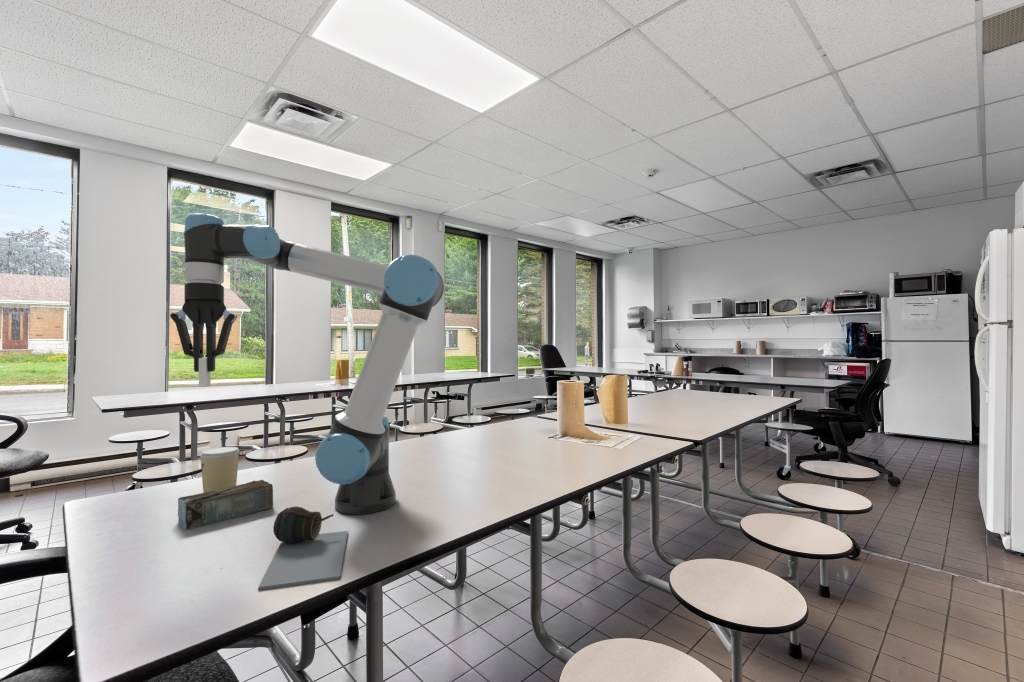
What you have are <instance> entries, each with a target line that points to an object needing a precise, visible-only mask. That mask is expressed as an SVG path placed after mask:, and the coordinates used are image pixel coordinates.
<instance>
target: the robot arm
mask: <svg viewBox="0 0 1024 682" xmlns="http://www.w3.org/2000/svg"><path fill="white" fill-rule="evenodd" d="M183 237H184V278H183V279H184V281H185V282H186V283H185V284H184V302H183V305H182V306H181V310H179V311H176V312H172V313H170V315H169V316H170V318H171V320H172V321H173V323H175V326H176V330H177V333H178V337H179V340H180V344H181V347H182V351H183V354H184V355H185V356H189V357H191V358H193V371H194V373H195V372H196V373H197V372H198V388H201V387H202V388H203V387H204V388H205V387H210V386H211V380H212V379H211V377H212V376H211V373H212V372H215V370H216V358H217V357H218V356H221V355H224V354H225V352H226V349H227V345H228V342H229V338H230V334H231V332H232V331H231V330H232V327H233V324H235V323H234V322H235V321H236V320H237V319H238V315H237V314H235V313H233V312H231V311H228V310H227V306H226V305H225V290H224V289H225V286H223V285H222V284H224V282H225V281H224V279H225V259H248V260H251V261H254V262H256V263H259V264H263V265H266V266H268V267H270V268H271V269H276V270H279V271H287V272H292V273H296V274H300V275H305V276H307V277H311V278H317V279H320V280H324V281H328V282H332V283H336V284H341V285H344V286H349V287H352V288H357V289H361V290H364V291H369V292H373V293H378V294H381V297H380V300H379V302H378V306H379V307H380V310H381V316H380V318H379V322H378V324H377V325H376V330H375V331H374V335H373V337H372V339H371V342H370V345H369V347H368V350H367V353H366V355H365V358H364V360H363V363H362V366H361V369H360V371H359V372H358V376H357V379H356V381H355V384H354V386H353V388H352V392H351V395H350V397H349V399H348V402H347V405H346V407H345V410H343V411H342V412H339V413H337V414H336V415H335V417H334V420H333V422H332V424H331V426H330V429H329V432H328V435H326V437H324V438H323V440H322V441H321V442H320V443H319V445H318V446H317V448H316V451H315V457H314V458H315V465H316V468H317V469H318V471H319V473H320V475H321V476H322V477H323V478H324V479H325V480H326V481H329V482H330V483H332V484H337V485H339V486H338V488H337V492H336V495H335V498H334V510H335V511H336V512H339V513H341V514H346V515H347V514H349V515H364V514H365V515H367V514H373V513H377V512H381V511H384V510H387V509H389V508H391V507H392V506H394V505H395V504H396V501H397V499H396V498H397V496H396V495H397V494H396V490H395V486H394V484H393V481H392V478H391V474H390V471H389V470H390V467H389V465H390V461H389V460H390V456H389V455H390V450H389V449H390V424H389V419H388V417H387V416H385V413H386V411H387V409H388V406H389V403H390V400H391V398H392V395H393V392H394V390H395V387H396V385H397V383H398V379H399V377H400V374H401V372H402V369H403V366H404V364H405V361H406V358H407V356H408V354H409V352H410V348H411V346H412V344H413V340H414V337H415V335H416V333H417V330H418V327H419V326H422V325H423V324H425V323H427V322H428V320H429V319H428V318H429V316H430V314H431V311H432V309H433V307H435V306H437V304H438V303H439V302H440V300H442V297H443V294H444V291H445V285H444V279H443V277H442V275H441V274H440V272H439V271H438V269H437V268H436V266H435V265H434V263H432V262H431V261H430V260H428V259H426V258H424V257H423V256H421V255H416V254H405V255H401V256H398V257H396V258H395V259H394V260H392V261H391V262H390V263H389V264H388V265H386V264H382V263H378V262H373V261H370V260H366V259H363V258H357V257H353V256H350V255H346V254H342V253H337V252H333V251H331V250H330V251H329V250H325V249H320V248H317V247H313V246H309V245H304V244H301V243H297V242H294V241H289V240H284V239H281V238H280V236H279V234H278V232H277V231H276V229H275V228H274V227H273V226H271V225H261V224H258V223H257V224H225V222H224V220H223V219H222V218H221V217H219V216H216V215H212V214H209V213H208V214H207V213H206V214H205V213H204V214H203V213H190V214H188V215H187V216H186V217H185V219H184V231H183ZM186 316H187V317H186ZM187 318H188V319H189V320H190V322H191V323H192V325H191V326H192V339H191V337H190V336H191V335H190V332H189V329H188V325H187V323H186V319H187ZM221 318H222V319H223V320H224V321H223V323H222V326H221V330H220V333H219V337H218V341H217V323H218V322H219V320H220V319H221ZM204 328H205V341H206V343H205V348H206V350H205V351H206V353H205V354H204Z"/></svg>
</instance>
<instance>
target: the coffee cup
mask: <svg viewBox="0 0 1024 682" xmlns="http://www.w3.org/2000/svg"><path fill="white" fill-rule="evenodd" d="M239 454H240V449H239V448H238V447H237V446H220V447H219V446H218V447H213V448H207V449H204V450H201V452H200V454H199V455H200V456H199V458H200V469H201V480H202V481H201V482H202V490H203V491H202V493H205V492H209V491H214V490H219V489H224V488H228V487H232V486H237V484H238V483H237V480H238V472H239V471H238V468H239V456H240V455H239Z"/></svg>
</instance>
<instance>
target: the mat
mask: <svg viewBox="0 0 1024 682" xmlns="http://www.w3.org/2000/svg"><path fill="white" fill-rule="evenodd" d="M348 534H349V530H344V531H343V530H342V531H341V530H340V531H335V532H334V531H333V532H325V533H319V535H318V536H317V538H316V539H315V540H304V541H302V542H298V543H294V544H289V543H285V542H282V541H280V544H279V545H278V548H277V549H276V551H275V554H274V555H273V557H272V559H271V561H270V564H269V565H268V567H267V569H266V571H265V574H263V577H262V578H261V581H260V583H259V585H258V588H257V589H258V591H261V590H262V591H263V590H269V589H276V588H283V587H291V586H297V585H298V586H299V585H307V584H313V583H319V582H326V581H334V580H335V581H336V580H340V579H341V576H342V569H343V563H344V556H345V552H346V546H347V539H348Z"/></svg>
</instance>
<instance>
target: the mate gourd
mask: <svg viewBox="0 0 1024 682" xmlns="http://www.w3.org/2000/svg"><path fill="white" fill-rule="evenodd" d="M333 517H334V513H332V514H330V515H327V516H325V517H322V513H321V512H320V511H310V510H308V509H305V508H303V507H301V506H290V507H286V508H285V509H283V510H281V511H280V512H279V513H277V515H276V517H275V520H274V524H273V527H272V528H273V534H274V537H275V538H276V540H278V541H279V542H281V541H282V542H285V543H289V544H294V543H298V542H302V541H304V540H315V539H316V538H317V536H318V535H319V534H320V532H321V528H322V524H323V523H322V522H324V521H326V520H328V519H330V518H333Z"/></svg>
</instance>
